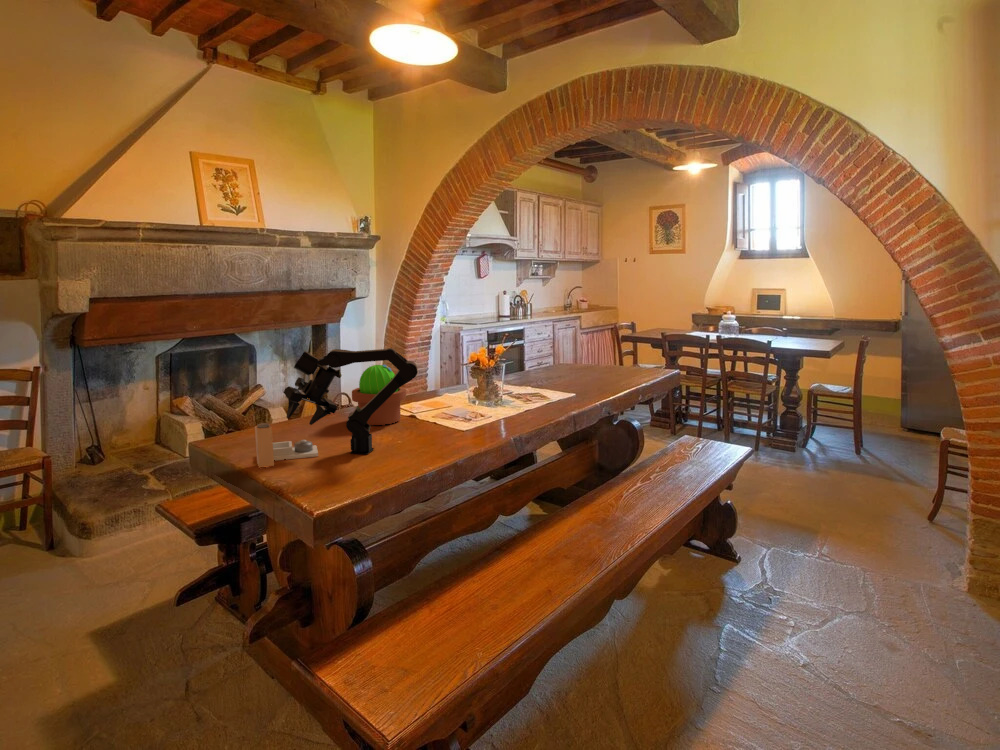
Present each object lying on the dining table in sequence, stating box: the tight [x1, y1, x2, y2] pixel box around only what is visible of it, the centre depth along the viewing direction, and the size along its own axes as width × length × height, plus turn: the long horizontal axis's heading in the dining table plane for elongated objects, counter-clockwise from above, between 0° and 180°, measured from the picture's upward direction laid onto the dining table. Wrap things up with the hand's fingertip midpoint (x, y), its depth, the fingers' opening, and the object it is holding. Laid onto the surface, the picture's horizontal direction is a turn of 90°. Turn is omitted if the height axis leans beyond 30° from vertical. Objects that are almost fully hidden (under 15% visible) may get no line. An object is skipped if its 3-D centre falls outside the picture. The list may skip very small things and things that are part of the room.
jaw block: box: [254, 422, 275, 468], centre depth 189 cm, size 4×4×14 cm
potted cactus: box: [351, 363, 407, 426], centre depth 247 cm, size 22×22×25 cm
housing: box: [273, 439, 319, 461], centre depth 201 cm, size 18×10×5 cm, turn 110°
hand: (299, 421), depth 201 cm, fingers open, 9 cm apart
